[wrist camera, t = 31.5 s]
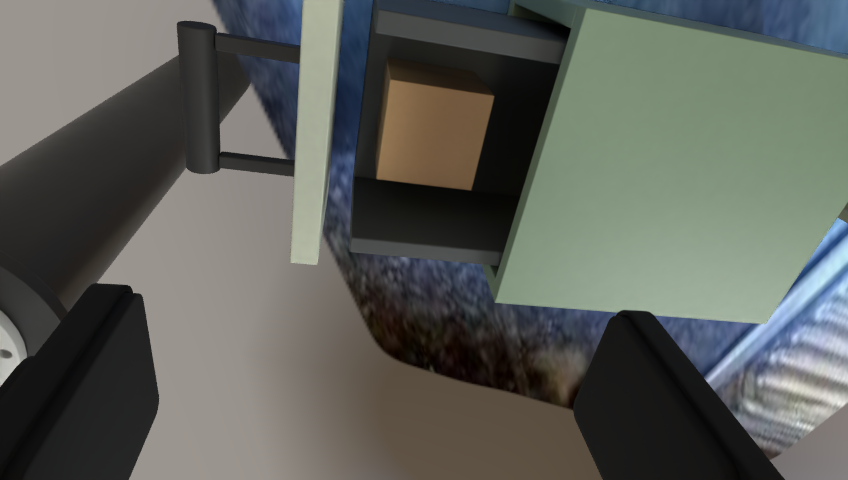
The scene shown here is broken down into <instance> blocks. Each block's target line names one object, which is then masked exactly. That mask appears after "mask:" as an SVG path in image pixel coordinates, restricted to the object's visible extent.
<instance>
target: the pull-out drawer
mask: <svg viewBox="0 0 848 480" xmlns="http://www.w3.org/2000/svg"><path fill="white" fill-rule="evenodd" d="M344 8H345V0H303V7H302V27H301V46H299V45H293V44H287V43H281V42H275V41H268V40H262V39H256V38H250V37H244V36H238V35H232V34H226V33H217V30H216V27H215V26H213V25H211V24H207V23H202V22H195V21H181V22H178V23H177V33H178V49H179V63H180V78H181V93H182V108H183V123H184V138H185V152H186V167H187V169H188V170H190V171H191V172H194V173H199V174H210V173H215V172H217V171H219V170H220V168H225V169H233V170H243V171H250V172H259V173H268V174H276V175H285V176H293V177H294V189H293V210H292V231H291V249H290V262H291V263H302V264H312V265H316V264H318V258H319V251H320V245H321V238H322V231H323V224H324V217H325V210H326V203H327V196H328V189H329V178H330V166H331V155H332V144H333V132H334V121H335V110H336V98H337V87H338V76H339V64H340V53H341V42H342V30H343V19H344ZM570 32H571V28H569V27H567V26H563V25H558V24H553V23H548V22H542V21H537V20H532V19H526V18H521V17H516V16H510V15H505V14H500V13H494V12H489V11H484V10H478V9H473V8H468V7H462V6H457V5H452V4H446V3H441V2H436V1H430V0H373V7H372V16H371V24H370V33H369V42H368V51H367V59H366V68H365V77H364V86H363V95H362V103H361V112H360V121H359V130H358V138H357V147H356V156H355V165H354V174H353V182H352V202H351V222H350V242H349V251H350V252H356V253H367V254H378V255H388V256H399V257H410V258H420V259H431V260H442V261H452V262H463V263H474V264H484V265H495V266H500V263H501V259H502V256H503V253H504V249H505V246H506V243H507V239H508V236H509V233H510V230H511V226H512V223H513V220H514V216H515V213H516V210H517V206H518V203H519V200H520V197H521V193H522V190H523V187H524V183H525V180H526V177H527V174H528V170H529V167H530V164H531V160H532V157H533V154H534V150H535V147H536V144H537V141H538V137H539V134H540V131H541V127H542V124H543V121H544V117H545V114H546V111H547V108H548V104H549V101H550V98H551V94H552V91H553V88H554V84H555V81H556V78H557V75H558V71H559V68H560V65H561V61H562V58H563V55H564V51H565V48H566V45H567V42H568V38H569V35H570ZM217 51H222V52H228V53H235V54H241V55H247V56H254V57H260V58H266V59H273V60H279V61H286V62H292V63H298V64H300V67H299V88H298V108H297V128H296V148H295V160H287V159H279V158H271V157H262V156H255V155H247V154H239V153H231V152H221V154H220V128H219V127H220V125H219V92H218V59H217ZM386 57H389V58H395V59H401V60H407V61H413V62H420V63H426V64H432V65H438V66H444V67H450V68H456V69H462V70H468V71H474V72H475V73H476V74H477V75H478V76H479V77H480V79H481V80H482V81H483V82H484V83H485V85H486V86H487V87H488V88H489V90H490V91H491V92H492V93H493V94H494V96H495V97H494V101H493V105H492V109H491V113H490V117H489V122H488V126H487V130H486V134H485V138H484V142H483V146H482V150H481V154H480V158H479V162H478V166H477V170H476V174H475V178H474V182H473V186H472V190H463V189H454V188H446V187H438V186H429V185H421V184H413V183H405V182H396V181H388V180H380V179H376V164H375V137H376V129H377V122H378V114H379V107H380V99H381V91H382V84H383V76H384V69H385V61H386Z"/></svg>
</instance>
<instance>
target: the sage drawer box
mask: <svg viewBox="0 0 848 480" xmlns="http://www.w3.org/2000/svg"><path fill="white" fill-rule="evenodd" d="M507 15H510V16H516V17H521V18H526V19H532V20H537V21H542V22H548V23H553V24H558V25H563V26H567V27H569V28H571V32H570V35H569V38H568V42H567V45H566V48H565V51H564V55H563V58H562V61H561V65H560V68H559V71H558V75H557V78H556V81H555V84H554V88H553V91H552V94H551V98H550V101H549V104H548V108H547V111H546V114H545V117H544V121H543V124H542V127H541V131H540V134H539V137H538V141H537V144H536V147H535V150H534V154H533V157H532V160H531V164H530V167H529V170H528V174H527V177H526V180H525V183H524V187H523V190H522V193H521V197H520V200H519V203H518V206H517V210H516V213H515V216H514V220H513V223H512V226H511V230H510V233H509V236H508V239H507V243H506V246H505V249H504V253H503V256H502V259H501V263H500V266H495V265H484V264H482V267H483V270H484V273H485V275H486V278H487V281H488V284H489V287H490V289H491V292H492V295H493V298H494V301H495V302H496V303H507V304H519V305H532V306H545V307H557V308H570V309H582V310H595V311H607V312H620V311H621V310H637V311H648V312H651V313H652V314H653V315H658V316H670V317H683V318H695V319H708V320H720V321H733V322H745V323H758V324H766V323H767V321H768V320H769V318H770V317H771V315H772V314H773V312H774V311H775V310H776V308H777V307H778V305H779V304H780V302H781V301H782V299H783V298H784V296H785V295H786V293H787V292H788V290H789V289H790V287H791V286H792V284H793V283H794V281H795V280H796V278H797V277H798V275H799V274H800V272H801V271H802V269H803V268H804V266H805V265H806V263H807V262H808V260H809V259H810V257H811V256H812V255H813V253H814V252H815V250H816V249H817V247H818V246H819V244H820V243H821V241H822V240H823V238H824V237H825V235H826V234H827V232H828V231H829V229H830V228H831V226H832V225H833V223H834V222H835V220H836V219H837V217H838V216H839V214H840V213H841V211H842V210H843V208H844V207H845V205H846V204H847V202H848V55H846V54H842V53H838V52H833V51H829V50H825V49H821V48H817V47H813V46H809V45H804V44H800V43H796V42H792V41H788V40H784V39H780V38H775V37H771V36H767V35H763V34H758V33H753V32H748V31H743V30H738V29H733V28H728V27H723V26H718V25H713V24H708V23H703V22H698V21H693V20H688V19H683V18H678V17H673V16H668V15H663V14H658V13H653V12H648V11H643V10H638V9H633V8H628V7H623V6H618V5H613V4H608V3H603V2H598V1H593V0H510V4H509V8H508V12H507Z"/></svg>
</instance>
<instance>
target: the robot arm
mask: <svg viewBox="0 0 848 480" xmlns="http://www.w3.org/2000/svg"><path fill="white" fill-rule="evenodd" d="M158 404H159V394H158V388H157V382H156V375H155V370H154V363H153V357H152V352H151V345H150V338H149V332H148V326H147V320H146V314H145V307H144V301H143V297H142V295H141V294H137V293H133V291H132V288H131V287H130V286H128V285H117V284H98V283H95V284H91V285H90V286H89V287H88V288H87V289H86V291H85V292H84V293H83V295H82V296H81V297H80V298H79V300H78V301H77V302H76V304H75V305H74V306H73V307H72V309H71V310H70V311H69V312H68V314H67V315H66V316H65V318H64V319H63V320H62V321H61V323H60V324H59V325H58V327H57V328H56V329H55V330H54V332H53V333H52V334H51V336H50V337H49V338H48V339H47V341H46V342H45V343H44V344H43V346H42V347H41V348H40V350H39V351H38V352H37V353H36V355H35V356H30V357H28V358H27V352H26V348H25V344H24V341H23V339H22V337H21V335H20V333H19V331H18V329H17V328H16V327H15V326H14V324H13V323H12V322H11V321H10V319H9V318H8V317H7V316H6V315H5V314H4V313H3V312H2V311H1V310H0V480H129V477H130V476H131V473H132V470H133V468H134V466H135V464H136V461H137V459H138V456H139V454H140V452H141V450H142V447H143V445H144V442H145V440H146V438H147V435H148V433H149V431H150V428H151V426H152V424H153V421H154V419H155V416H156V414H157V410H158ZM573 411H574V417H575V420H576V422H577V424H578V426H579V429H580V431H581V433H582V435H583V437H584V439H585V441H586V444H587V446H588V448H589V451H590V453H591V455H592V457H593V459H594V461H595V463H596V466H597V468H598V470H599V472H600V475H601V477H602V479H603V480H785V479H784V478H783V477H782V476H781V474H780V473H779V472H778V471H777V469H776V468H775V467H774V466H773V464H772V463H771V462H770V461H769V459H768V458H767V457H766V455H765V454H764V453H763V452H762V450H761V449H760V448H759V447H758V445H757V444H756V443H755V442H754V440H753V439H752V438H751V437H750V435H749V434H748V433H747V432H746V430H745V429H744V428H743V427H742V425H741V424H740V423H739V422H738V420H737V419H736V418H735V417H734V415H733V414H732V413H731V412H730V410H729V409H728V408H727V407H726V405H725V404H724V403H723V402H722V400H721V399H720V398H719V397H718V395H717V394H716V393H715V392H714V390H713V389H712V388H711V387H710V385H709V384H708V383H707V382H706V380H705V379H704V378H703V377H702V375H701V374H700V373H699V372H698V370H697V369H696V368H695V367H694V365H693V364H692V363H691V361H690V360H689V359H688V358H687V356H686V355H685V354H684V353H683V351H682V350H681V349H680V348H679V346H678V345H677V344H676V343H675V341H674V340H673V339H672V338H671V336H670V335H669V334H668V333H667V331H666V330H665V329H664V328H663V326H662V325H661V324H660V323H659V321H658V320H657V319H656V318H655V316H654V315H653V314H652V313H651V312H648V311H637V310H621V311H620V312H618V313H617V315H616V316H613V317H612V318H610V320H609V322H608V324H607V327H606V329H605V331H604V334H603V336H602V338H601V341H600V343H599V345H598V348H597V350H596V352H595V355H594V357H593V359H592V362H591V364H590V366H589V369H588V371H587V373H586V376H585V378H584V380H583V383H582V385H581V387H580V390H579V392H578V394H577V397H576V399H575V402H574V407H573Z"/></svg>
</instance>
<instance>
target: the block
mask: <svg viewBox="0 0 848 480" xmlns="http://www.w3.org/2000/svg"><path fill="white" fill-rule="evenodd" d="M494 97H495V96H494V94H493V93H492V92H491V91H490V90H489V88H488V87H487V86H486V85H485V83H484V82H483V81H482V80H481V79H480V77H479V76H478V75H477V74H476V73H475V72H474V71H468V70H462V69H456V68H450V67H444V66H438V65H432V64H426V63H420V62H413V61H407V60H401V59H395V58H389V57H386V61H385V69H384V76H383V84H382V91H381V99H380V107H379V114H378V122H377V129H376V137H375V164H376V179H380V180H388V181H396V182H405V183H413V184H421V185H429V186H438V187H446V188H454V189H463V190H472V186H473V182H474V178H475V174H476V170H477V166H478V162H479V158H480V154H481V150H482V146H483V142H484V138H485V134H486V130H487V126H488V122H489V117H490V113H491V109H492V105H493V101H494Z"/></svg>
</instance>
